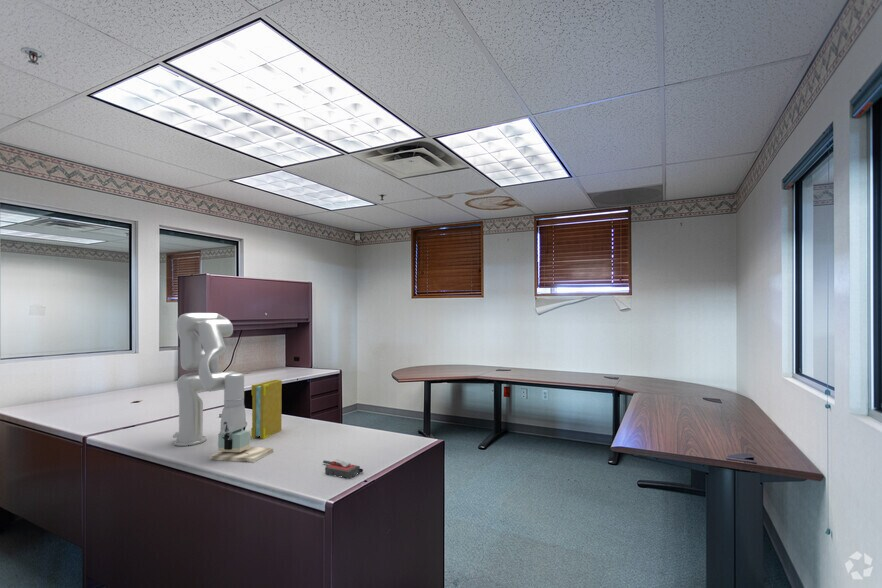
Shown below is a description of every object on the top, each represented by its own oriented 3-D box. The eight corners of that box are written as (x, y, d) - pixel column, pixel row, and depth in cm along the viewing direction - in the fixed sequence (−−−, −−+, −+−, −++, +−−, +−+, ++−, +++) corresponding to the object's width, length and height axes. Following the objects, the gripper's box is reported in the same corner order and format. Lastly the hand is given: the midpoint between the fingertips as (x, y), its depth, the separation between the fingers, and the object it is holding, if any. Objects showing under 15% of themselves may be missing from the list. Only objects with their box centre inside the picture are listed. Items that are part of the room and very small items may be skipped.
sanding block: (218, 451, 171) (218, 433, 171) (228, 446, 177) (228, 430, 177) (239, 452, 169) (240, 434, 169) (249, 447, 175) (249, 430, 175)
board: (209, 459, 167) (209, 455, 168) (232, 449, 180) (232, 445, 180) (253, 462, 163) (253, 458, 164) (273, 451, 176) (273, 448, 176)
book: (263, 439, 195) (264, 385, 196) (251, 438, 196) (251, 385, 198) (284, 429, 212) (284, 379, 213) (272, 428, 213) (272, 379, 214)
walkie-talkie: (367, 472, 152) (325, 464, 161) (367, 459, 152) (325, 452, 161) (351, 480, 144) (308, 471, 153) (351, 467, 144) (308, 459, 154)
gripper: (240, 398, 183) (239, 440, 182) (211, 407, 166) (210, 453, 165) (255, 399, 181) (255, 441, 180) (227, 407, 165) (227, 454, 164)
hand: (233, 446), depth 173 cm, fingers closed on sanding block, 6 cm apart
